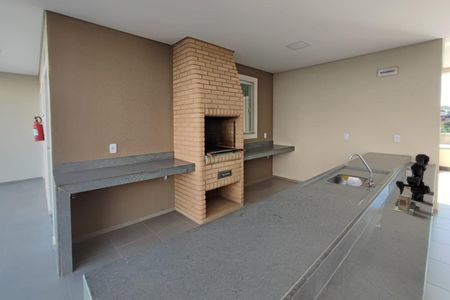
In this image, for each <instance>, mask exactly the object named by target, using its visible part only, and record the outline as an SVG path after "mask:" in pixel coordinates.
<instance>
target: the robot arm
mask: <svg viewBox="0 0 450 300" xmlns="http://www.w3.org/2000/svg"><path fill="white" fill-rule="evenodd" d="M430 159H431V158H430V156H429V155H426V154H424V153H418V154H417V155H415V158H414V160H415V162H413V164H412V165H411V172H412V176H411V177H410V176H407V178H406V177H405V182H406V181H407V183H408V184H406V183H404V181H401V180H397V181H395V185H396V187H397V188H398V189H399V195H402V194H403V192H404V190H405V189H404V188H406V187H411V190H410V193H412V194H411V195H410V196H411V200H410V201H413V202H419V203H420V202H421V203H425V202H426V201H425V200H424V197H425V195H427V194H431V188H430V186H429V185H426V184H425V182H424V176H425V175H424V174H425V172H426V170H427V166H428V165H429V163H430Z"/></svg>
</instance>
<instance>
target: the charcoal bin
mask: <svg viewBox="0 0 450 300" xmlns="http://www.w3.org/2000/svg"><path fill="white" fill-rule="evenodd" d="M398 202H399V198H397V199H396V201H395V205H394V206H395V207H396V206H398ZM416 206H417V201H413V200H410V209H414V211H415V209H416Z"/></svg>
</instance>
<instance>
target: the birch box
mask: <svg viewBox="0 0 450 300" xmlns="http://www.w3.org/2000/svg"><path fill="white" fill-rule="evenodd" d="M411 196H412V195H408V194H403V193H402V194H401V195H400V194H399V195H398V199H399V202H398V210H402V211H406V212H407V211H409V210H410V201H412V200H411Z"/></svg>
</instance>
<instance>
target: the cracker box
mask: <svg viewBox="0 0 450 300" xmlns="http://www.w3.org/2000/svg"><path fill="white" fill-rule="evenodd" d="M411 166H412V165H411ZM411 166H409V165H408V166H406V173H405V174H406V176H405V179H406V178H407V176H410V177H411V176H412V172H411ZM405 184H408V183H407V181H406V180H405ZM405 189H408V190H410V191H411V187H405Z"/></svg>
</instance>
